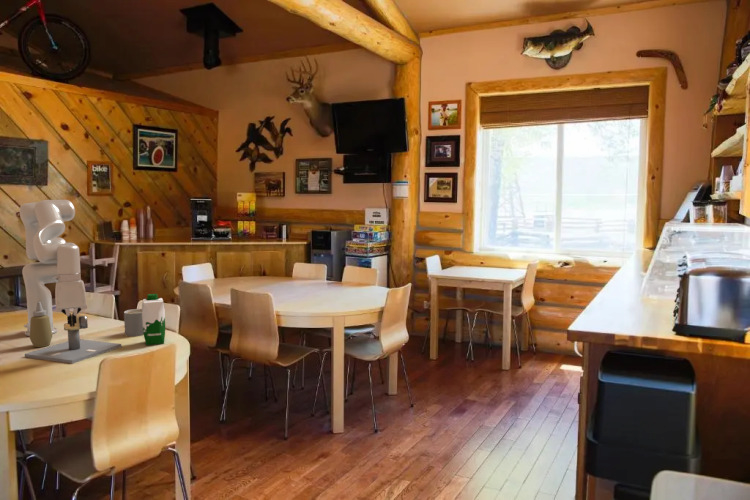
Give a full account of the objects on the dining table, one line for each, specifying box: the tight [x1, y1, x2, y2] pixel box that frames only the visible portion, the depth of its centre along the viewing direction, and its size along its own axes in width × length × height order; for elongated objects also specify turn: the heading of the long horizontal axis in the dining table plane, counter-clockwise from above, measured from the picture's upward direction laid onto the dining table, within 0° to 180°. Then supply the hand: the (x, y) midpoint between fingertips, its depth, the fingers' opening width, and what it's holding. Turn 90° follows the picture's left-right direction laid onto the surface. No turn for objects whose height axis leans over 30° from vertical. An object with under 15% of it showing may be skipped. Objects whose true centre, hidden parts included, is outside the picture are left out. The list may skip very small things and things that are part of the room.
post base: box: [24, 329, 123, 364], centre depth 229 cm, size 24×24×9 cm
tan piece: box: [63, 313, 89, 332], centre depth 225 cm, size 6×15×6 cm, turn 48°
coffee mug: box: [123, 308, 144, 337], centre depth 259 cm, size 13×10×10 cm
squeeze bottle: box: [29, 302, 53, 348], centre depth 237 cm, size 8×8×18 cm
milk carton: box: [141, 293, 166, 346], centre depth 242 cm, size 9×9×20 cm
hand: (72, 325), depth 220 cm, fingers closed
